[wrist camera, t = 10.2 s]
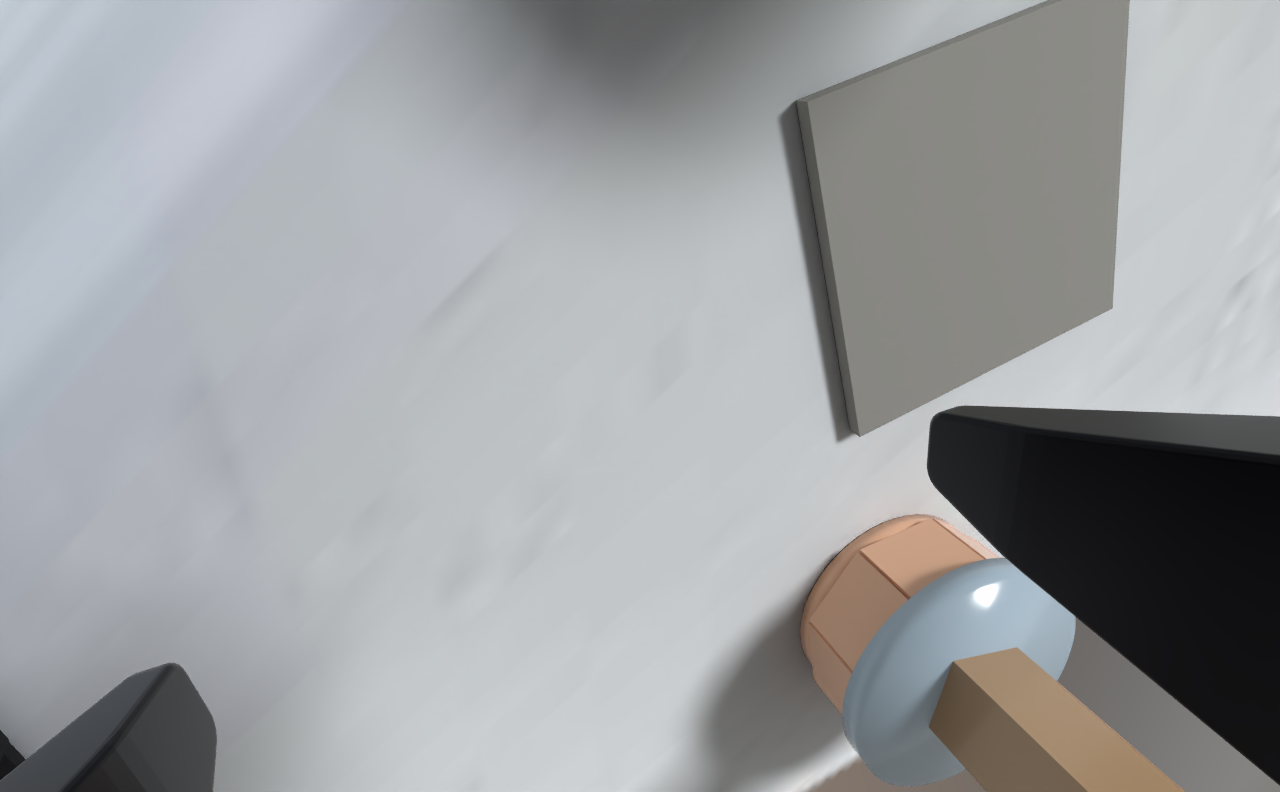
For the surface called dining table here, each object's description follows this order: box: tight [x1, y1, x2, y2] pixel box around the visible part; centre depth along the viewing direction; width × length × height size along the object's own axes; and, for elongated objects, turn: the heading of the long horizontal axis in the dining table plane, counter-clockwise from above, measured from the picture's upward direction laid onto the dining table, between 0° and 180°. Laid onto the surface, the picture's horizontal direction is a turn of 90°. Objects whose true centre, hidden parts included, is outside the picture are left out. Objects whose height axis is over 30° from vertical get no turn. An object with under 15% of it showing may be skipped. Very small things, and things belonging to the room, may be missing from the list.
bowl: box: [800, 514, 1000, 715], centre depth 31 cm, size 9×9×4 cm
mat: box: [796, 0, 1130, 437], centre depth 25 cm, size 12×12×1 cm
